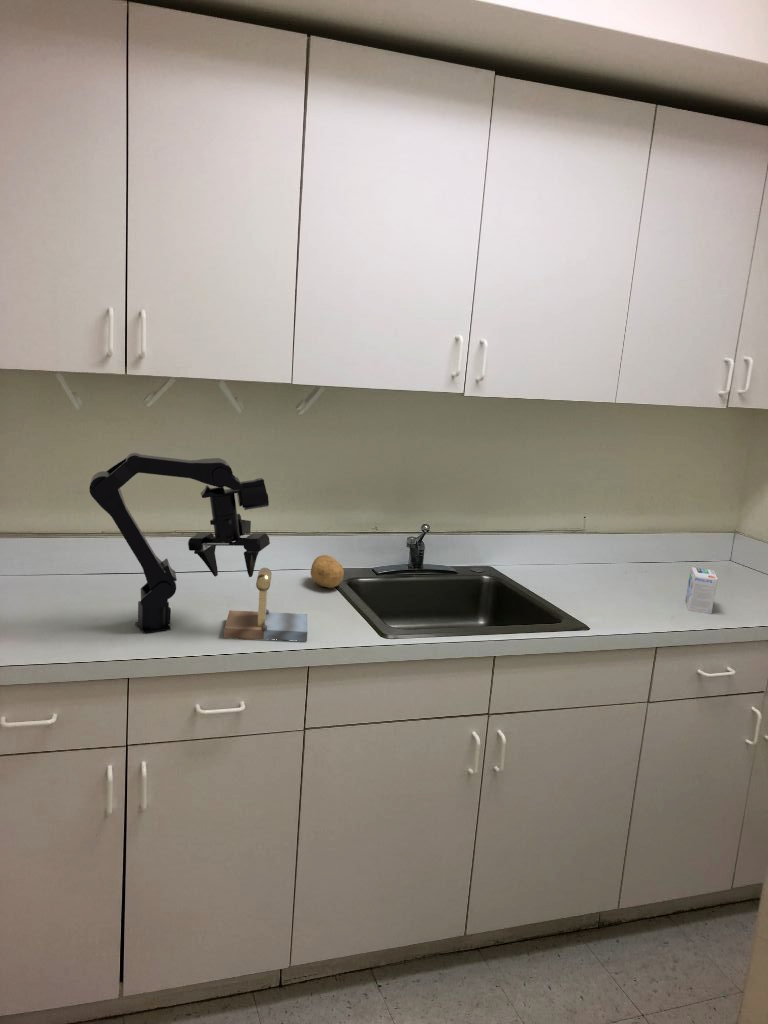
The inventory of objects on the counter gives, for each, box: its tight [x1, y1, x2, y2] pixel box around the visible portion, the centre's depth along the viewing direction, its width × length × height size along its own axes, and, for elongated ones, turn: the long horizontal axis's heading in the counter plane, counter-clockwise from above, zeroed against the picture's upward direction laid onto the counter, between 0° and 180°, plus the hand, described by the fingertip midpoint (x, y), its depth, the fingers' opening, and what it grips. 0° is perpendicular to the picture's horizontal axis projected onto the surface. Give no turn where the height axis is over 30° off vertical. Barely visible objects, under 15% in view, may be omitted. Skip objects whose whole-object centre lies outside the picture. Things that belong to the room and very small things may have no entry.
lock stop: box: [255, 567, 272, 626], centre depth 191 cm, size 3×8×12 cm, turn 6°
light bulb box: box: [684, 566, 719, 615], centre depth 240 cm, size 11×7×11 cm, turn 165°
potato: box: [310, 554, 345, 589], centre depth 230 cm, size 10×14×8 cm
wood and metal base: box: [223, 608, 308, 642], centre depth 193 cm, size 19×12×3 cm, turn 96°
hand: (233, 576), depth 192 cm, fingers open, 9 cm apart
